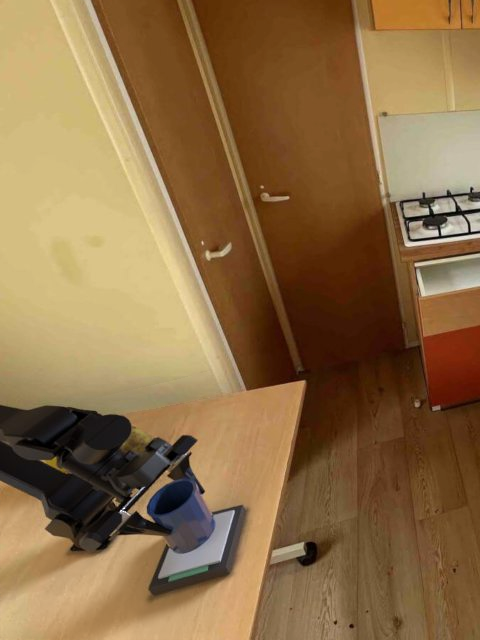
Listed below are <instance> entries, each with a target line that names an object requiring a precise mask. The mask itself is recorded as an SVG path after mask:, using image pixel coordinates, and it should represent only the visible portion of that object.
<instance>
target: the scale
mask: <svg viewBox="0 0 480 640" xmlns="http://www.w3.org/2000/svg"><path fill="white" fill-rule="evenodd" d="M211 512H212V514H213V516H214V519H215V521H216V525H215V529H214V531H213V533H212V535H211V536H210V538H209V539H208V540H207V541H206V542H205V543H204V544H203V545H201V546H200V547H198V548H197V549H195V550H193V551H191V552H188V553H184V554H177V553H174V552H173V551H172V550H171V549H170V548H169V546H168V545H167V543H166V542H165V546H164V548H163V551H162V554H161V556H160V558H159V561H158V563H157V566H156V568H155V571H154V573H153V575H152V578H151V580H150V584H149V585H148V588H147V590H148V591H149V592H150V594H152V595H151V596H153V597H154V596H157V595H158V596H159V595H161V594H162V595H163V594H165V593H168V592H172V591H175V590H179V589H182V588H186V587H189V586H192V585H196V584H200V583H203V582H207V581H211V580H214V579H217V578H221V577H224V576H228V575H230V574H231V572H232V567H233V564H234V560H235V557H236V552H237V549H238V545H239V542H240V541H239V540H240V538H241V537H240V536H241V533H242V529H243V526H244V523H245V522H244V521H245V519H246V514H247V510H246V508H245V505H244V504H238V505H234V506H232V507H228V508H224V509H218V510H215V511H211Z"/></svg>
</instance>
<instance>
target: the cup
mask: <svg viewBox="0 0 480 640" xmlns="http://www.w3.org/2000/svg"><path fill="white" fill-rule="evenodd" d="M212 512H213V511H212V509H211V508H210V507H209V504H208V503H207V501H206V499H205V497H204V494H203V495H202V493H201V491H200V490H199V488H198V486H197V484H196V482H195V481H193V480H192V479H187V478H182V479H178V480H171V481H170V482H168V483H166V484H164V486H162V487H161V488H159V489H158V490H157V491H155V493H154V494H153V495H152V496H151V497H150V499H148V503H147V505H146V514H147V517H148V518H149V520H150V521H152V522H154V523H156V524H159V525H161V526H163V527H165V528H167V529H168V530H170V531H171V532H172V533H171V535H170V536H161V537H162V538H163V540H164V541H165V544H166V543H167V545H168V546H169V548H170V549H171V550H172V551H173V552H174V553H177V554H184V553H188V552H191V551H193V550H195V549H197V548H198V547H200V546H201V545H203V544H204V543H205V542H206V541H207V540H208V539H209V538H210V536H211V535H212V533H213V531H214V529H215V525H216V521H215V519H214V516H213V514H212Z"/></svg>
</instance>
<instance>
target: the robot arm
mask: <svg viewBox="0 0 480 640" xmlns="http://www.w3.org/2000/svg"><path fill="white" fill-rule="evenodd" d="M132 426H133V425H132V423H131V420H129V418H128V417H126V416H125V415H120V414H116V413H115V414H114V413H110V414H102V413H98V411H97V410H90V409H83V408H77V407H72V406H64V405H51V404H50V405H49V404H47V405H41V406H38V407H34V408H31V409H30V408H29V409H26V408H25V409H24V408H19V407H14V406H9V405H4V404H0V482H2V483H4V484H6V485H8V486H10V487H12V488H14V489H16V490H18V491H20V492H22V493H25V494H26V495H29V496H31V497H33V498H35V499H37V500H39V501H41V505H42V509H43V511H44V516H45V517H46V518H47V519H49V520H51V521H50V522H49V523H48V524H47V525H46V527H44V530H45V531H46V532H48V533H49V534H50V535H51V536H54V537H58V538H65V539H69V540H70V541H71V542H72V543H73V544H72V545H71V547H70V548H69V551H70V552H72V553H73V552H88V553H90V554H93V553H94V552H95V551H105V550H106V549H107V548H108V547H109V546H110V544H111V543H112V541H113V540H114V539H115V538H116V537H117V536H135V535H140V536H141V535H142V536H143V535H144V536H155V537H157V536H158V537H162V536H170V535H171V533H172V532H171V531H170V530H168V529H167V528H165V527H163V526H161V525H159V524H156V523H154V522H152V520H151V519H148V518H145V517H144V516H142V514H140V512H138V511H137V510H135V511H134V512H133V513H132V514H131V513H129V511H130V510H131V509H132V507H133V506H134V505H135V504H136V503H138V501H139V500H140V499H141V498H142V497H143V496H144V495H145V493H146V492H147V491H149V490H150V488H151V487H152V486H153V485H154V484H155V483H156V482H157V481H158V480H159V479H160V477H162V475H163V474H164V473H165V472H168V474H167V475H166V478H169V479H170V480H171V481H174V480H178V479H182V478H187V479H192V480H193V481H195V482H196V484H197V486H198V488H199V490H200V491H201V493H202V495H203V496H204V493H206V490H205V488H204V487H203V485H202V484H201V482H200V481H199V479H198V478H197V477H196V474H195V473H194V471H193V469H192V467H191V463H190V458H191V456H192V454H193V453H192V451H190V450H191V449H192V448H193V446H194V445H195V444H196V443H197V442H198V441H199V440H198V439H197V438H196V437H194V436H193V435H191V434H182V435H180V437H179V438H178V439H176V441H175V442H174V443H173V444H171V443H169V441H167V440H166V439H163V438H161V437H160V436H157V437H153V438H154V439H153V440H152V441H151V442H150V443H148V444H147V445H146V446H145V449H146V450H145V451H144V452H143V453H142V454H139V453H136V452H135V451H131V450H129V451H128V452H126V451H125V450H123V449H121V448H120V447H121V446H122V445H123V444H124V443H125V442H126V440H127V439H128V438H129V436H130V434H131V432H132ZM189 451H190V452H189ZM54 457H56V458H57V462H56V465H57V467H58V468H60V469H62V468H64V469H66V470H67V471H66V472H67V473H66V472H62V471H60V470H58V469H56V468H54V467H52V466H50V465H48V464H46V462H45V460H52V459H53V458H54ZM68 472H69V473H68ZM135 489H136V490H138V491H137V492H136V493H135V494H134V492H133V491H134V490H135ZM133 494H134V495H133ZM132 495H133V496H132ZM113 500H114V501H113ZM115 502H116V503H118V505H116V503H115Z"/></svg>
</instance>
